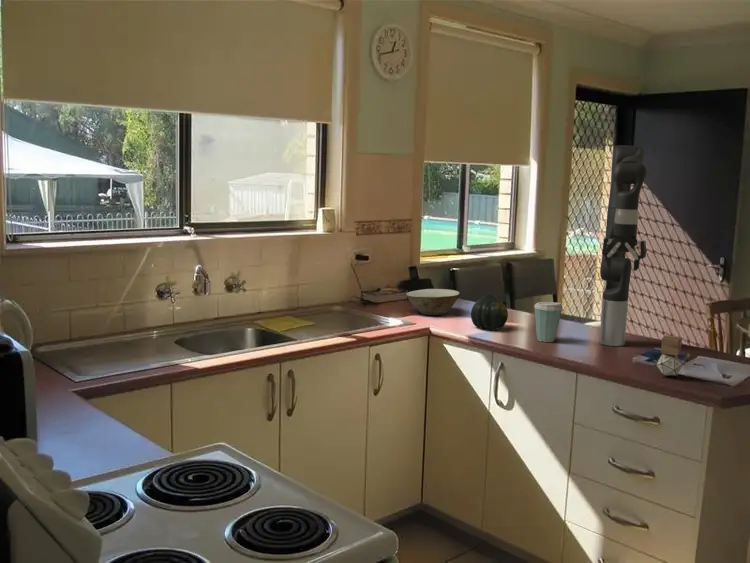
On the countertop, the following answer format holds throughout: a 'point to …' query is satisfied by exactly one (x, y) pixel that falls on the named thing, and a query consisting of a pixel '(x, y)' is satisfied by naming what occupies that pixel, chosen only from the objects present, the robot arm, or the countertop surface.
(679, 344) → the walnut block
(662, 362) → the game die
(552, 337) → the disposable coffee cup
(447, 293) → the bowl
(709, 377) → the countertop surface
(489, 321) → the squash
